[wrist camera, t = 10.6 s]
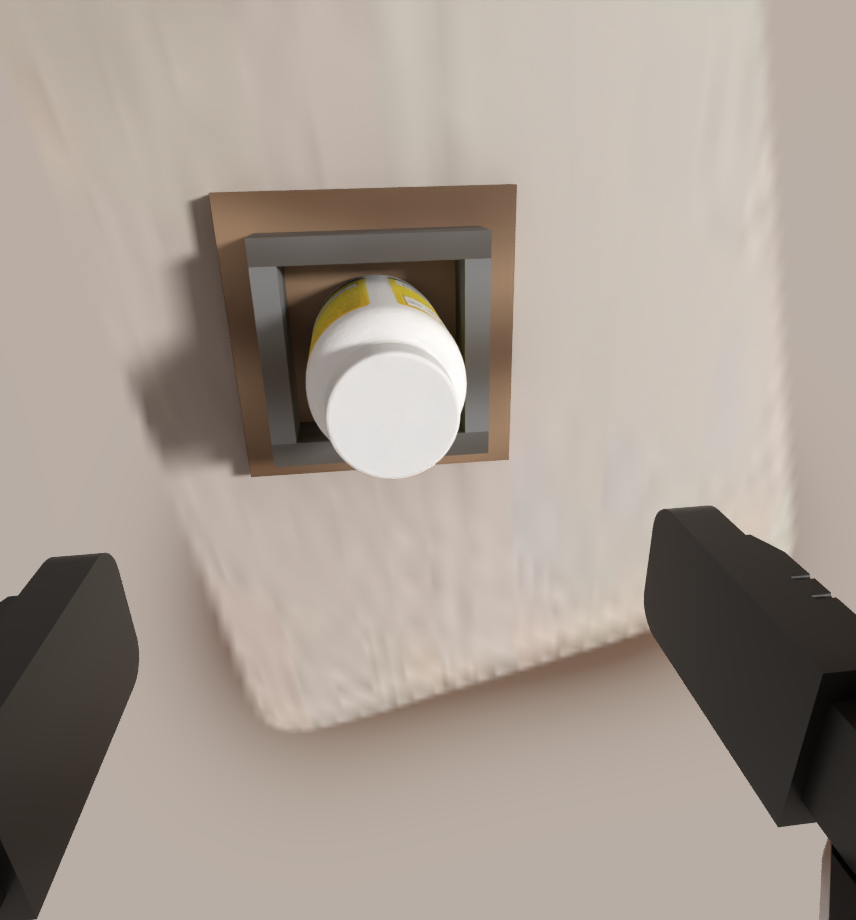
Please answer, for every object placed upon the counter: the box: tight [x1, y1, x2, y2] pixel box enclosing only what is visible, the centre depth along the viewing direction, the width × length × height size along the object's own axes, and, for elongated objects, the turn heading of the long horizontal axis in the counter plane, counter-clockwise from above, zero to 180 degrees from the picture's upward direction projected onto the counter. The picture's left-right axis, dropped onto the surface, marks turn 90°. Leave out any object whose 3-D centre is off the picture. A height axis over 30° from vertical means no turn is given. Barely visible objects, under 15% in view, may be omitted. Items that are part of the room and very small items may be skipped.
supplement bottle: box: [306, 275, 467, 479], centre depth 23 cm, size 5×5×10 cm
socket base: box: [209, 184, 517, 477], centre depth 27 cm, size 12×12×4 cm
